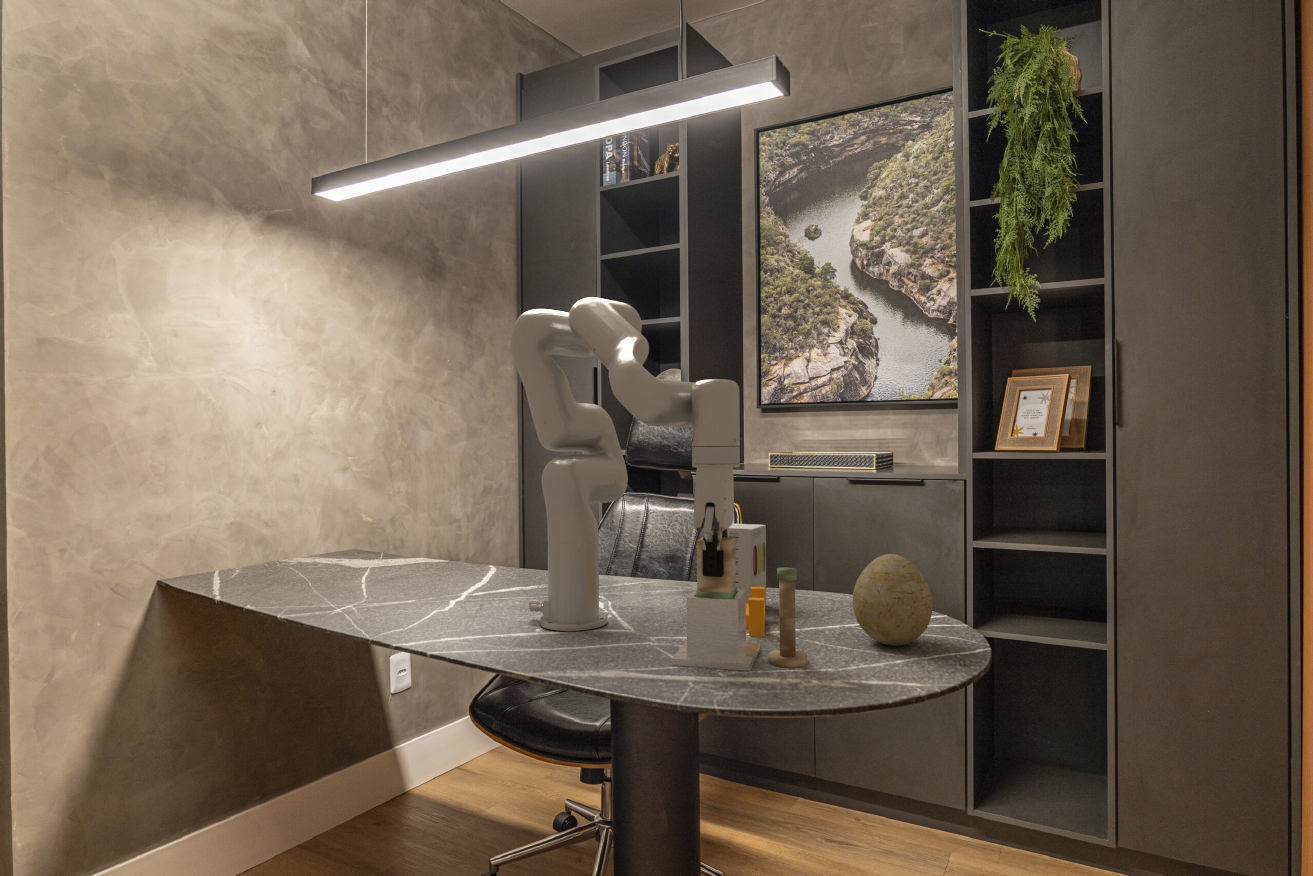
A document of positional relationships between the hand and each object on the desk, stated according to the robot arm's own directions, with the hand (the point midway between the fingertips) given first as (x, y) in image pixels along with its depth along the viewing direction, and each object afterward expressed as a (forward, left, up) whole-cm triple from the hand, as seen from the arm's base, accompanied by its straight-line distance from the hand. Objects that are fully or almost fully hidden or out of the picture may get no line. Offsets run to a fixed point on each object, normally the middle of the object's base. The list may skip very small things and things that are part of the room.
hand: (716, 571), depth 118 cm
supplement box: (-2, +35, -14) cm, 38 cm away
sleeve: (0, 0, -13) cm, 13 cm away
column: (0, 0, -10) cm, 10 cm away
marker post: (+11, 0, -13) cm, 17 cm away
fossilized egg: (+27, +14, -14) cm, 33 cm away
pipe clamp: (+3, +20, -14) cm, 24 cm away
